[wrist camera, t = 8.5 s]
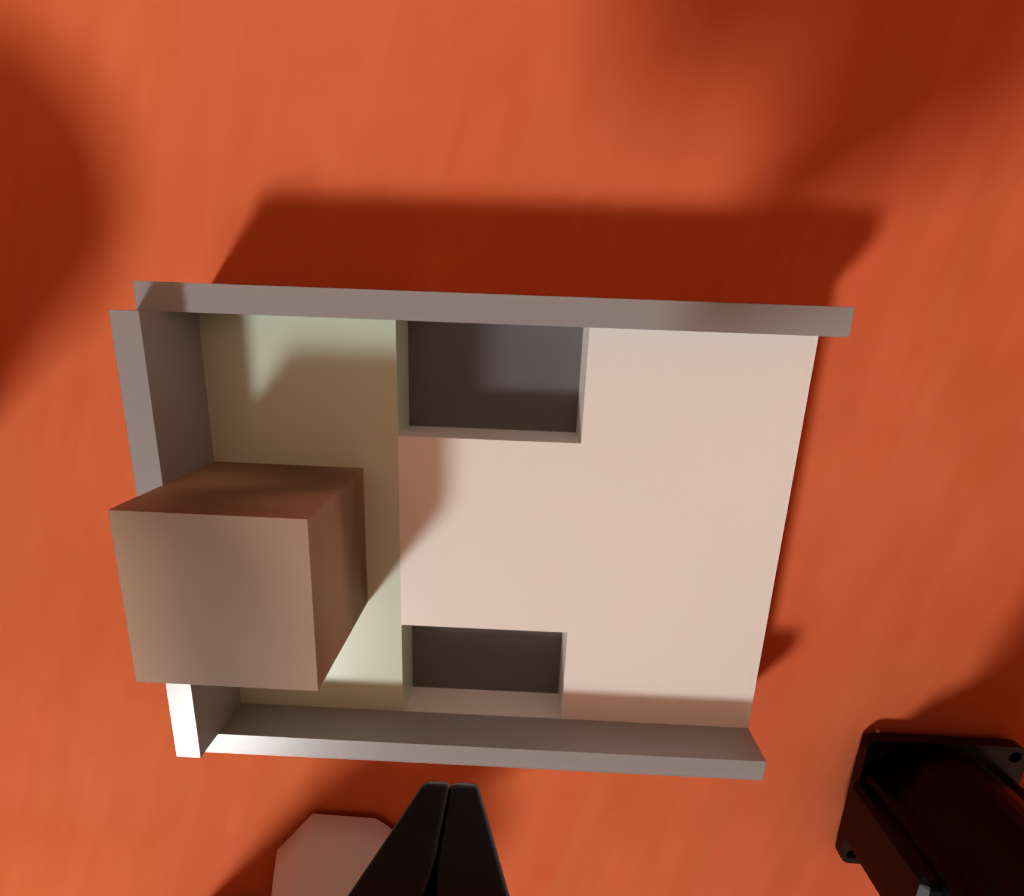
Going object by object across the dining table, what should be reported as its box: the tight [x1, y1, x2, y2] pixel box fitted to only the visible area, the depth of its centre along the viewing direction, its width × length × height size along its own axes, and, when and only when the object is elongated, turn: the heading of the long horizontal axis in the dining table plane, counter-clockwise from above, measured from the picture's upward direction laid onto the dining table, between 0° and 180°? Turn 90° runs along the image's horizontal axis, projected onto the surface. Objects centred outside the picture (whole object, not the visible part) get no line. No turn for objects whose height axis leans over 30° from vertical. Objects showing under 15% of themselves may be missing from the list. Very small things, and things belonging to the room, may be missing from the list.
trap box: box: [109, 281, 855, 780], centre depth 17 cm, size 20×16×4 cm
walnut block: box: [108, 461, 368, 691], centre depth 15 cm, size 5×5×4 cm
